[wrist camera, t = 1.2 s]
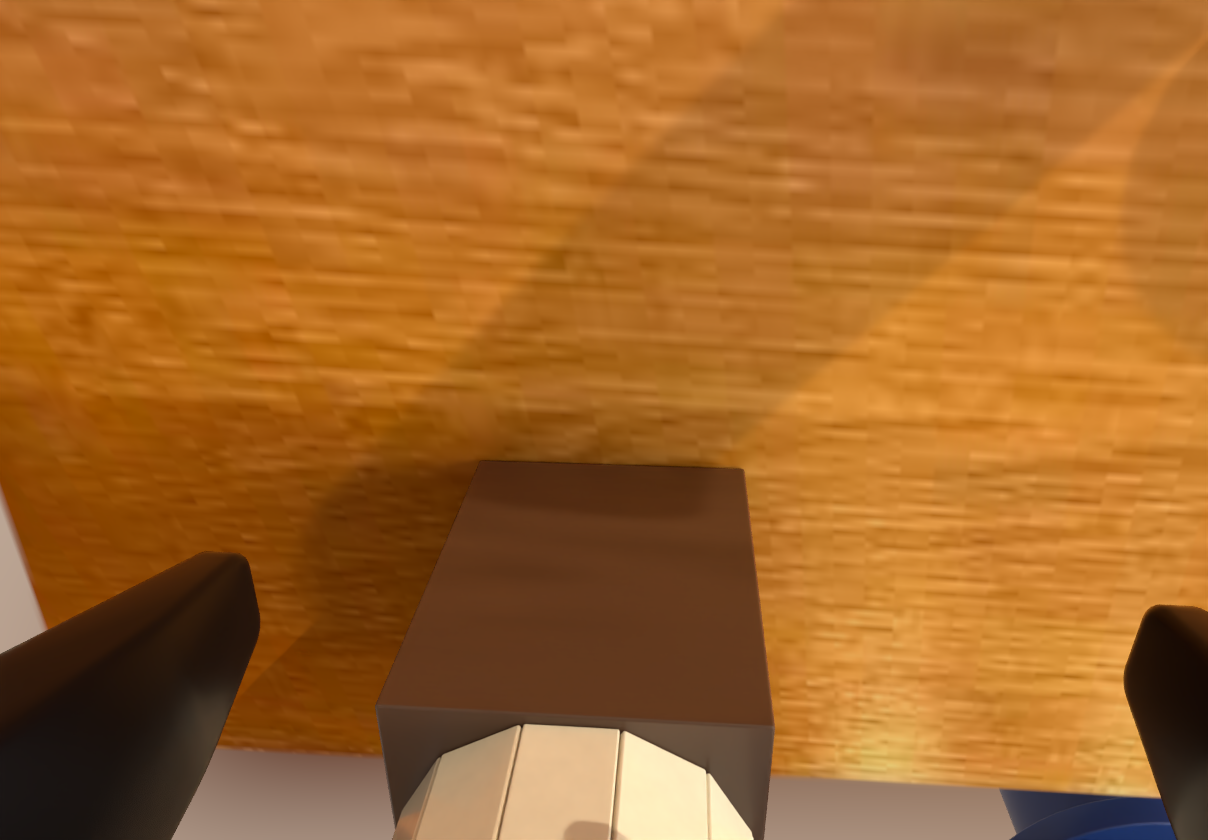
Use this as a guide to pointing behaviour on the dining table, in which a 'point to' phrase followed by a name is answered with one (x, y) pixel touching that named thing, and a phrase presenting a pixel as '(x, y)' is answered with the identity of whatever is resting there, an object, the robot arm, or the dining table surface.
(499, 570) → the stand
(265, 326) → the dining table surface
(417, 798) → the cream cup
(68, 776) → the robot arm
